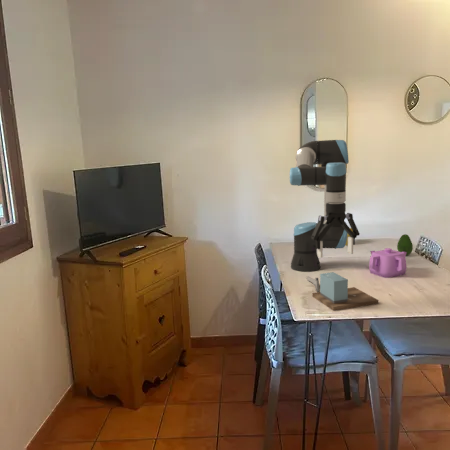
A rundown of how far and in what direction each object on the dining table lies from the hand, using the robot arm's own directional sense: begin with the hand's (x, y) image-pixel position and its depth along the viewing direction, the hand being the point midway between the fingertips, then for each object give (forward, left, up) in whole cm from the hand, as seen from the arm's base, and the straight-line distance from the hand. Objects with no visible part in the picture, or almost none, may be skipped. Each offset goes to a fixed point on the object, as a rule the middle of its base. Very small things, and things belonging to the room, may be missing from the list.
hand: (335, 255), depth 172 cm
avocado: (-48, +71, -19) cm, 88 cm away
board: (+1, +4, -19) cm, 19 cm away
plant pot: (-85, +58, -19) cm, 104 cm away
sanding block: (+1, -1, -18) cm, 18 cm away
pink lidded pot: (-24, +43, -19) cm, 52 cm away
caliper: (-21, +1, -20) cm, 29 cm away
